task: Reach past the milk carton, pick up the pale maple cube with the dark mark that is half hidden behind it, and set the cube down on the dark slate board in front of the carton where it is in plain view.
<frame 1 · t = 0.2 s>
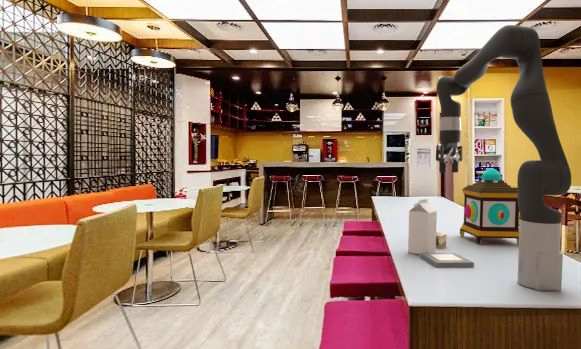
hand: (448, 172, 145), 28 cm above the table, fingers open, 8 cm apart
slate board: (445, 262, 124), on the table
marked cube: (437, 246, 145), on the table
milk carton: (421, 253, 135), on the table
decorative lantern: (489, 241, 158), on the table
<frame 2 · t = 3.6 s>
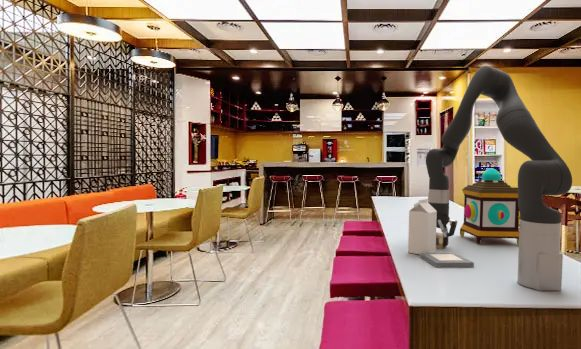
hand: (437, 245, 145), 0 cm above the table, fingers closed on marked cube, 5 cm apart
marked cube: (437, 246, 145), on the table, touching gripper
everything else where it was.
when the fingers open (3 cm above the table, at t = 12.0 s): marked cube drops 1 cm, resting on slate board.
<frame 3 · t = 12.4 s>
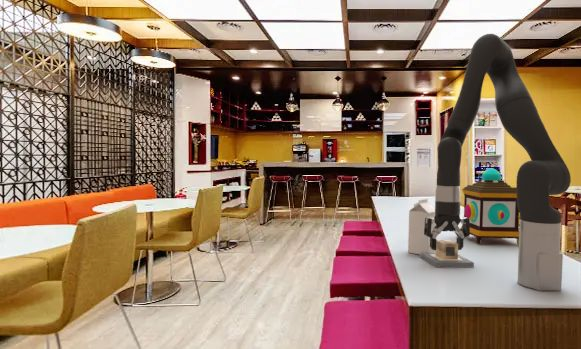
hand: (446, 249, 123), 4 cm above the table, fingers open, 8 cm apart
marked cube: (446, 257, 124), point 2 cm above the table, touching slate board
everything else where it was.
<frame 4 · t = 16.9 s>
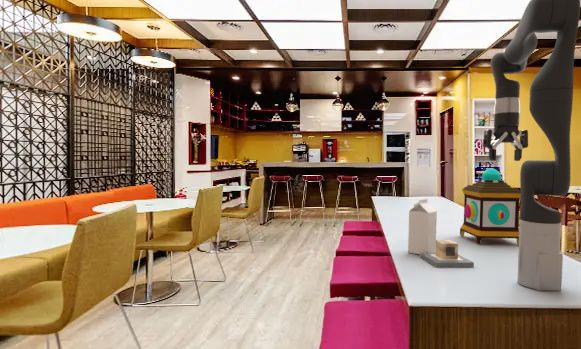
hand: (505, 160, 129), 33 cm above the table, fingers open, 8 cm apart
nothing on the table moved.
at the end: marked cube inside the target area on the slate board (0.1 cm from its centre), point 1.6 cm above the slate board's base; marked cube tilted 0°; milk carton moved 0.2 cm from its start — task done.
